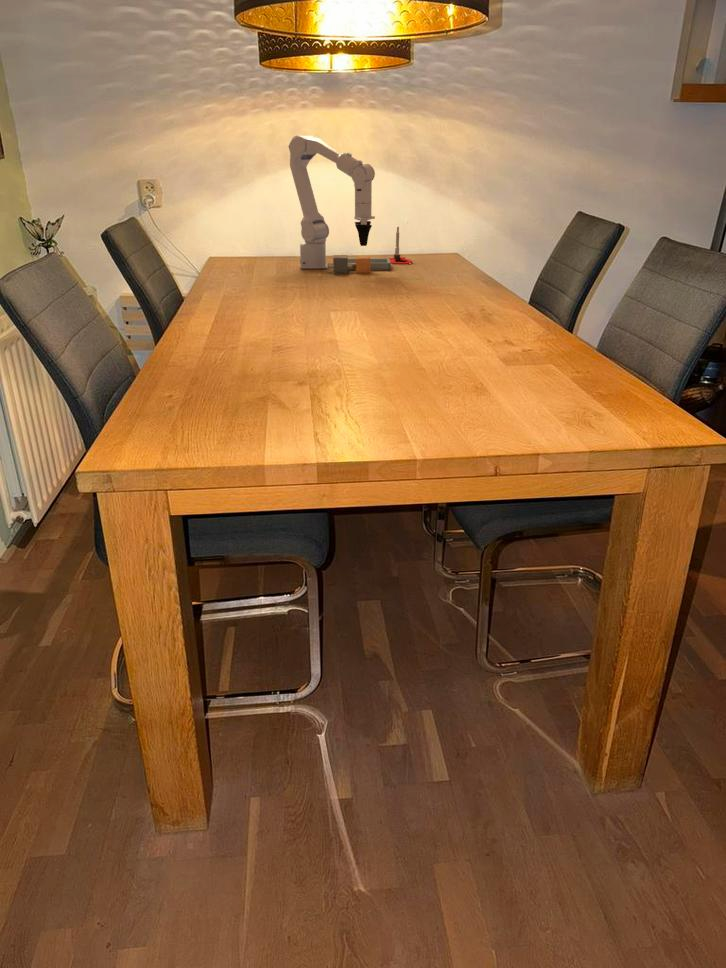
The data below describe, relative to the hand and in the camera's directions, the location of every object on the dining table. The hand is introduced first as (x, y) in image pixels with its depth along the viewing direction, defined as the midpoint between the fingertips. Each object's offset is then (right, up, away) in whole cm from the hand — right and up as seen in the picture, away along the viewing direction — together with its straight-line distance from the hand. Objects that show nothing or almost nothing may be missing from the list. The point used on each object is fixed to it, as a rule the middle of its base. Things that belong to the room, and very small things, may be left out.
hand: (363, 244), depth 259 cm
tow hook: (+14, 0, +24) cm, 28 cm away
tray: (0, -5, +13) cm, 13 cm away
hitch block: (-8, -9, +4) cm, 12 cm away
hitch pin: (-5, -9, +4) cm, 11 cm away
